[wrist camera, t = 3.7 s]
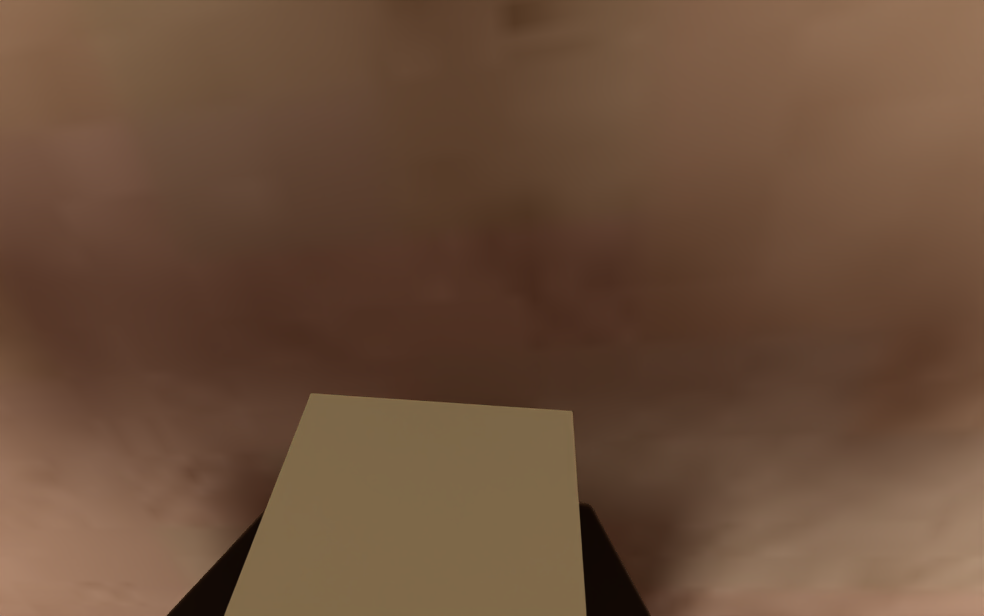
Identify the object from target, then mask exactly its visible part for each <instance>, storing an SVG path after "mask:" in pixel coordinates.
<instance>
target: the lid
mask: <svg viewBox="0 0 984 616" xmlns="http://www.w3.org/2000/svg"><path fill="white" fill-rule="evenodd" d="M224 616H586V602H585V587H584V573H583V558H582V543H581V528H580V514H579V499H578V484H577V470H576V455H575V440H574V426H573V411H565V410H551V409H536V408H521V407H507V406H492V405H477V404H463V403H448V402H433V401H418V400H404V399H389V398H374V397H360V396H345V395H330V394H316V393H311V394H310V396H309V399H308V401H307V404H306V407H305V409H304V412H303V414H302V417H301V419H300V422H299V425H298V427H297V430H296V432H295V435H294V437H293V440H292V443H291V445H290V448H289V450H288V453H287V455H286V458H285V461H284V463H283V466H282V468H281V471H280V473H279V476H278V479H277V481H276V484H275V486H274V489H273V491H272V494H271V497H270V499H269V502H268V504H267V507H266V509H265V512H264V515H263V517H262V520H261V522H260V525H259V527H258V530H257V533H256V535H255V538H254V540H253V543H252V545H251V548H250V551H249V553H248V556H247V558H246V561H245V563H244V566H243V569H242V571H241V574H240V576H239V579H238V581H237V584H236V587H235V589H234V592H233V594H232V597H231V599H230V602H229V605H228V607H227V610H226V612H225V615H224Z"/></svg>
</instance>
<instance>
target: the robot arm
mask: <svg viewBox="0 0 984 616" xmlns="http://www.w3.org/2000/svg"><path fill="white" fill-rule="evenodd" d="M264 512H265V511H264ZM264 512H263V513H262V514H261V515H260V516H259V517H258V518H257V519H256V521H255V522H254V523H253V524H252V525H251V526H250V527H249V528H248V529H247V530H246V531H245V532H244V533H243V534H242V536H241V537H240V538H239V539H238V540H237V541H236V542H235V543H234V544H233V545H232V546H231V547H230V548H229V549H228V550H227V552H226V553H225V554H224V555H223V556H222V557H221V558H220V559H219V560H218V561H217V562H216V563H215V564H214V565H213V567H212V568H211V569H210V570H209V571H208V572H207V573H206V574H205V575H204V576H203V577H202V578H201V579H200V580H199V582H198V583H197V584H196V585H195V586H194V587H193V588H192V589H191V590H190V591H189V592H188V593H187V594H186V595H185V596H184V598H183V599H182V600H181V601H180V602H179V603H178V604H177V605H176V606H175V607H174V608H173V609H172V610H171V611H170V613H169V614H168V615H167V616H224V615H225V612H226V610H227V607H228V605H229V602H230V599H231V597H232V594H233V592H234V589H235V587H236V584H237V581H238V579H239V576H240V574H241V571H242V569H243V566H244V563H245V561H246V558H247V556H248V553H249V551H250V548H251V545H252V543H253V540H254V538H255V535H256V533H257V530H258V527H259V525H260V522H261V520H262V517H263V515H264ZM579 514H580V528H581V543H582V558H583V573H584V587H585V602H586V616H651V615H650V613H649V611H648V609H647V607H646V606H645V604H644V602H643V600H642V598H641V596H640V595H639V593H638V591H637V589H636V587H635V585H634V583H633V582H632V580H631V578H630V576H629V574H628V572H627V571H626V569H625V567H624V565H623V563H622V561H621V559H620V558H619V556H618V554H617V552H616V550H615V548H614V546H613V545H612V543H611V541H610V539H609V537H608V535H607V534H606V532H605V530H604V528H603V526H602V524H601V522H600V521H599V519H598V517H597V515H596V513H595V511H594V510H593V508H592V507H591V506H590V505H589V504H587V503H580V502H579Z"/></svg>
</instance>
